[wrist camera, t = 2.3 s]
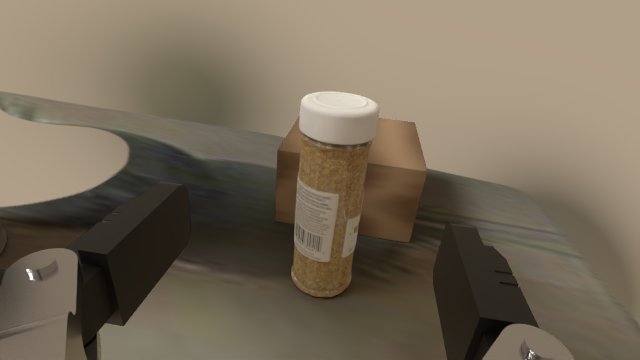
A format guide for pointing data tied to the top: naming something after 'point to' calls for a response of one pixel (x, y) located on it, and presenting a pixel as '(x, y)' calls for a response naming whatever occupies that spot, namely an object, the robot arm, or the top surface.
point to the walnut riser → (368, 180)
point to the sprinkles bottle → (330, 188)
